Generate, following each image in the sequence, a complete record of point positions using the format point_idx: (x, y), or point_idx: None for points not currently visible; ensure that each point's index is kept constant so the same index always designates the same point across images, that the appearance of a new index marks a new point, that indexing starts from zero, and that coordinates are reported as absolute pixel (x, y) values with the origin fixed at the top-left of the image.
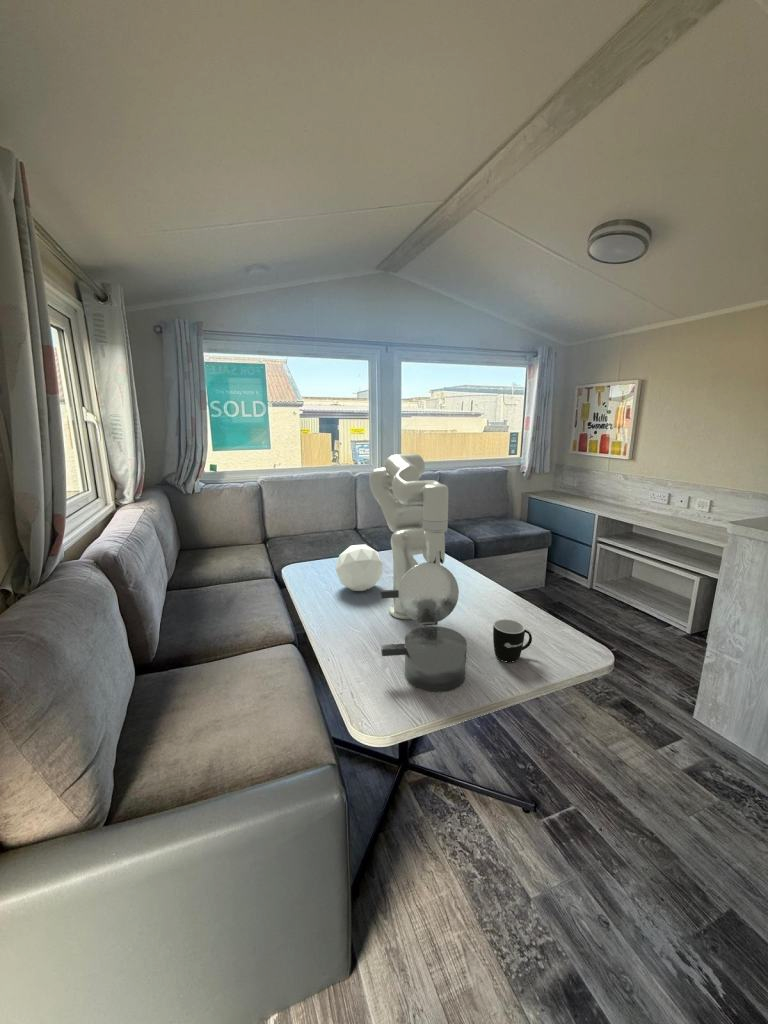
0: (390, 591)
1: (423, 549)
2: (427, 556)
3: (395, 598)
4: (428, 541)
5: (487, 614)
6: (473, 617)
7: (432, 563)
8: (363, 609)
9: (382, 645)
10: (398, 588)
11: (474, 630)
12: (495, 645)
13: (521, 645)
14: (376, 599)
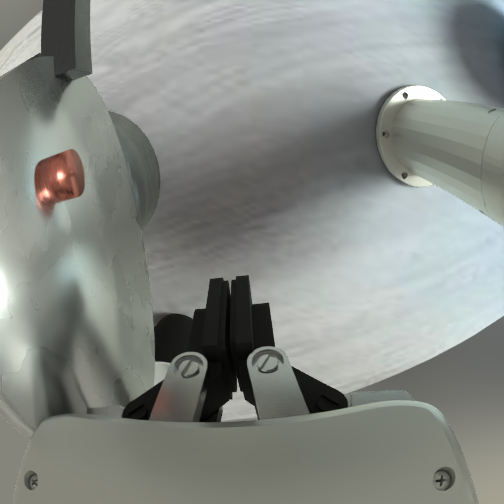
0: (42, 17)
1: (409, 501)
2: (72, 490)
3: (437, 102)
4: None
5: (363, 328)
6: (358, 302)
7: (28, 434)
8: (434, 25)
9: (36, 57)
10: (46, 57)
11: (295, 295)
12: (162, 330)
13: (157, 369)
14: (481, 78)
